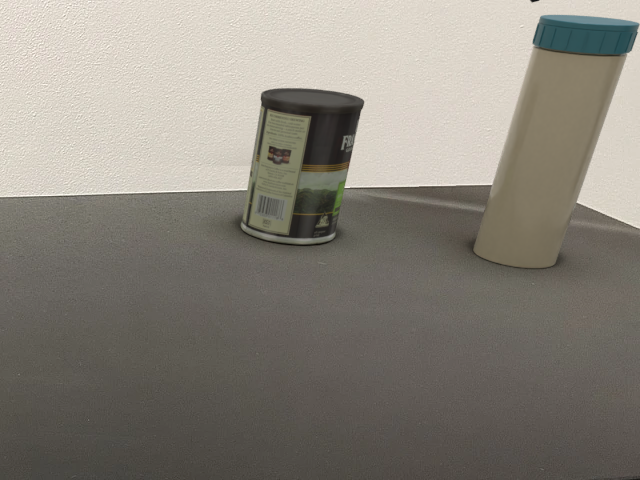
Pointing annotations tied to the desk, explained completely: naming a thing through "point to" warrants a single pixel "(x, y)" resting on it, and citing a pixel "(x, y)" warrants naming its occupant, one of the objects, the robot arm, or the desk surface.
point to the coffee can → (300, 164)
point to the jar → (546, 155)
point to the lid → (585, 34)
